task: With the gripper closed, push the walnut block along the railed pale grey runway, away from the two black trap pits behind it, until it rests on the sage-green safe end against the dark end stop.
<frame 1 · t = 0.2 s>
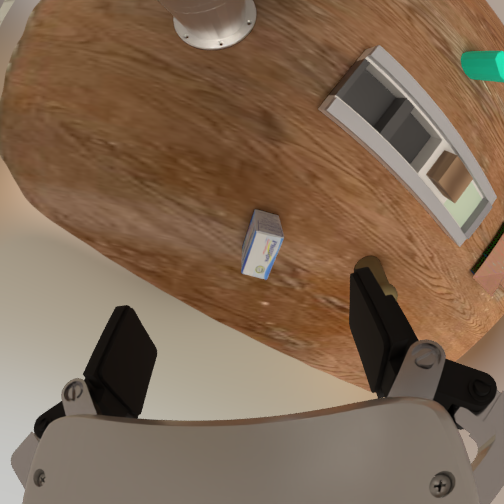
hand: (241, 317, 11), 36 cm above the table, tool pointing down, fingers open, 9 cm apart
olive pawn: (367, 268, 54), on the table
walnut block: (443, 173, 40), point 4 cm above the table, touching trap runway
candle: (470, 65, 32), on the table
medicine box: (260, 231, 50), on the table
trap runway: (418, 151, 42), on the table
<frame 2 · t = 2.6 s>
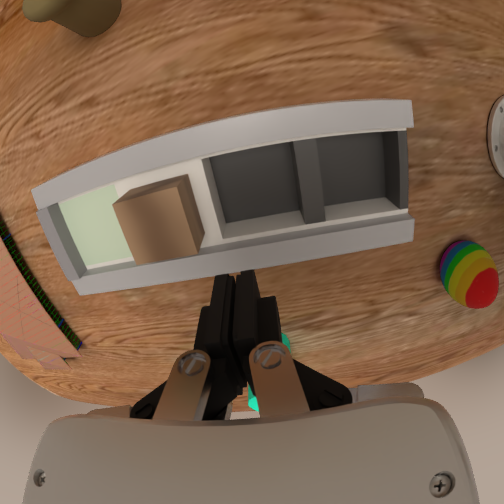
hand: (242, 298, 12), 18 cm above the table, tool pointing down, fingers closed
decorative egg: (453, 257, 33), on the table
olive pawn: (98, 14, 18), on the table
house: (15, 294, 38), on the table
walnut block: (166, 210, 26), point 4 cm above the table, touching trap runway
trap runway: (217, 187, 29), on the table
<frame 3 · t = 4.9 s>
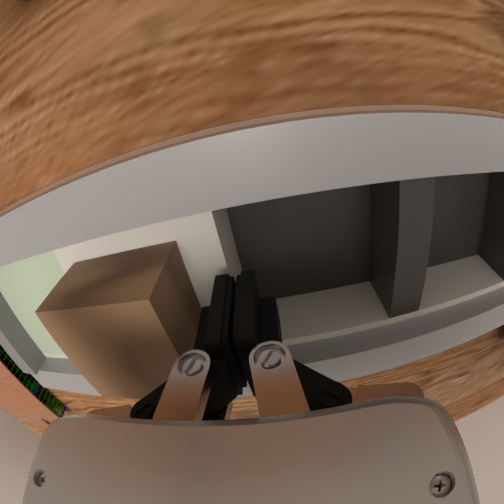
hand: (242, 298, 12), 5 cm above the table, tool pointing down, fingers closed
walnut block: (142, 302, 14), point 4 cm above the table, touching gripper, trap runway
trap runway: (237, 247, 17), on the table
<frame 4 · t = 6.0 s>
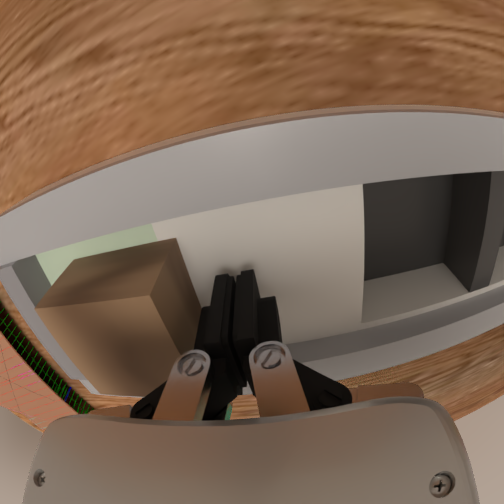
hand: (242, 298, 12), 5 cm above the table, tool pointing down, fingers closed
house: (0, 345, 25), on the table
walnut block: (141, 299, 14), point 4 cm above the table, touching gripper, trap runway
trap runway: (341, 228, 16), on the table
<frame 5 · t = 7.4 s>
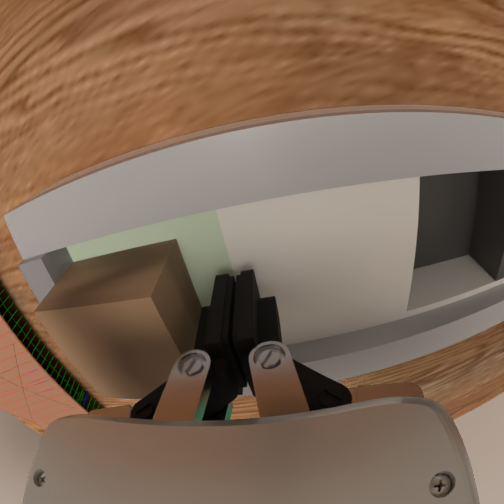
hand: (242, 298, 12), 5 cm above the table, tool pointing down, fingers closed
house: (9, 348, 24), on the table
walnut block: (142, 301, 14), point 4 cm above the table, touching gripper, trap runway
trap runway: (384, 220, 16), on the table
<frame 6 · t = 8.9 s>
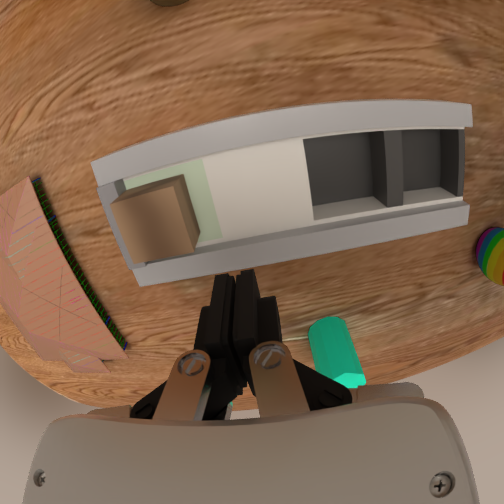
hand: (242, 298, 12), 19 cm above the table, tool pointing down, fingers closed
decorative egg: (485, 243, 34), on the table
house: (45, 287, 36), on the table
walnut block: (162, 210, 26), point 4 cm above the table, touching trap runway
candle: (327, 330, 40), on the table
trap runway: (301, 171, 29), on the table
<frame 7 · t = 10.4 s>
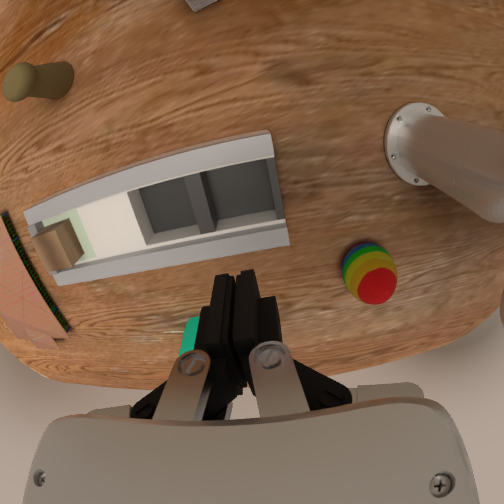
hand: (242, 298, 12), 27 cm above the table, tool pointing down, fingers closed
decorative egg: (360, 257, 43), on the table
olive pawn: (59, 80, 28), on the table
house: (17, 284, 47), on the table
walnut block: (63, 239, 36), point 4 cm above the table, touching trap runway
candle: (201, 327, 51), on the table
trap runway: (145, 208, 39), on the table
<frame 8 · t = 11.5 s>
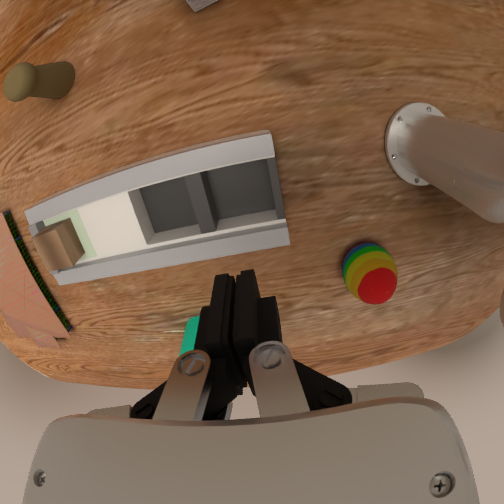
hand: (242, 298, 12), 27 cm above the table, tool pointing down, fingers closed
decorative egg: (360, 257, 43), on the table
olive pawn: (60, 79, 28), on the table
house: (18, 283, 47), on the table
walnut block: (64, 239, 37), point 4 cm above the table, touching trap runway
candle: (202, 326, 51), on the table
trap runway: (146, 208, 39), on the table
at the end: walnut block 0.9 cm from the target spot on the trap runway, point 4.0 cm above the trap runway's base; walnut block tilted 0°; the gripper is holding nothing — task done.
